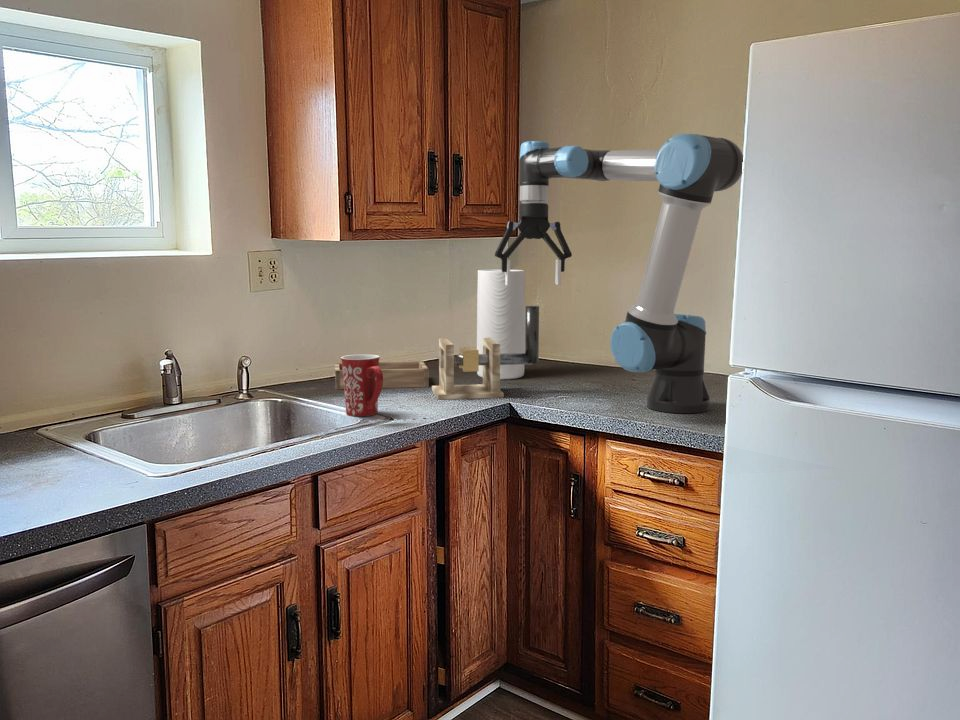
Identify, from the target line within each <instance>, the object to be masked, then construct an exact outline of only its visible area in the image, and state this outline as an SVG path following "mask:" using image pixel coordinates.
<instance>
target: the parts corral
mask: <svg viewBox="0 0 960 720" xmlns="http://www.w3.org/2000/svg"><path fill="white" fill-rule="evenodd" d="M379 368H380V369H381V370H382V373H383V386H382V389H394V388H397V389H398V388H399V389H400V388H427V387H430V386H429V382H430V381H429V378H430V377H429V367H428V366H427V365H426V363H425V362H424V361H423V360H421V361H419V360H418V361H417V360H415V361H379ZM334 378H335V380H334V381H335V390H344V380H343V370H342V364H341V362H335V363H334Z"/></svg>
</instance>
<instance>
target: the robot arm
mask: <svg viewBox="0 0 960 720" xmlns="http://www.w3.org/2000/svg"><path fill="white" fill-rule="evenodd" d="M743 157H744V154H743V152H742V150H741V148H740V147H739V146H738V144H736V143H734V141H732V140H730V139H728V138H723V137H716V136H709V135H703V134H699V133H680V134H679V133H678V134H676V135H674V136H672V137H671V138H669V139H668V140H666V141H665V142H664V143H663V144H662V145H661V147H660V148H659V149H619V150H615V149H614V150H610V149H609V150H608V149H607V150H606V149H605V150H597V149H596V150H595V149H587V148H583V147H582V146H580V145H569V144H568V145H564V146H559V147H558V146H557V147H550V144H549V142H547V141H544V140H543V141H542V140H532V141H530V140H529V141H524V142H522V143H521V145H520V151H519V159H518V160H519V202H521V203H520V204H519V208H518V209H519V217H518V218H519V220H518V222H516V221H515V222H514V221H512V220H511V221H508V222H506V230H505V232H504V234H503V236H502V239H501V241H500V242H499V244H498V246H497V248H496V250H495V253H494V257H496V258H499V259H500V260H501V270H502V272H505V285H510V270H511V259H508V258H509V257H510V256H511V255H512V254H513V252H514V251H515V250H516V249H517V248H518V247H519V245H520V244H521V243H522V242H523V240H525V239H527V240H533V239H534V240H540V239H543V240H544V242H545V243H546V244H547V246H548V247H549V248H550V249H551V251H552V252H553V253H554V254H555V256H556V257H557V258H558V259H555V278H554V279H555V285H557V286H559V285H560V286H561V284H562V283H561V280H562V272H563V273H564V272H565V268H566V265H565V264H566V259H569V258H571V257H572V256H573V255H572V251H571V249H570V247H569V244H568V243H567V240H566V239H565V236H564V234H563V232H562V229H561V222H560V221H554V222H550V221H549V204H548V201H549V194H550V193H549V185H550V183H549V182H550V181H549V180H550V179H574V180H575V179H576V180H590V181H597V182H598V181H599V182H607V181H626V182H629V181H630V182H631V181H634V182H635V181H636V182H659V187H658V190H657V193H658V194H659V196H660V198H661V200H662V203H661V207H660V212H659V215H658V219H657V223H656V227H655V231H654V234H653V238H652V243H651V246H650V251H649V255H648V257H647V261H646V266H645V270H644V273H643V277H642V281H641V285H640V289H639V292H638V293H639V294H638V296H637V301H636V303H635V304H633V305H632V306H629V307H628V309H627V312H626V316H625V319H624V322H621V323H620V324H619V325H617V326H615V327H614V329H613V330H612V332H611V336H610V345H609V346H610V350H611V354H612V356H614V360H615V362H616V363H617V364H618V366H620V367H621V368H622V369H624V370H625V371H628V372H630V373H646V372H651V371H654V378H653V380H652V383H651V386H650V388H649V391H648V394H647V396H646V408H648V409H649V410H654V411H656V412H662V413H672V414H697V413H698V414H700V413H705V412H708V411H709V410H710V409H711V400H710V395H709V392H708V389H707V385H706V382H705V378H704V377H705V376H704V375H705V354H706V351H705V350H706V335H707V331H706V320H705V319H704V317H702V316H699V315H691V314H682V313H681V314H680V313H675V308H676V305H677V301H678V298H679V293H680V290H681V288H682V287H681V286H682V283H683V280H684V276H685V271H686V267H687V265H688V262H689V258H690V254H691V250H692V246H693V243H694V240H695V235H696V233H697V228H698V225H699V221H700V217H701V213H702V211H703V210H704V209H705V208H706V207H708V206H710V205H711V204H712V200H713V197H714V194H715V192H723V191H725V190H728V189H729V188H732V187H733V186H734V185H736V183H737V182H738V181H739V180H740V179H741V177H742V174H743V172H742V162H743ZM516 228H518V230H519V231H520V233H519V234H518V235H517V237H515V239H514V241H513V242H512V243H511V244H510V245H509V246H508V248H507V249H506V250H505V247H507V244H508V242H509V239H510V238H511V236H512V234H513V231H515V230H516ZM550 228H551V231H554V235H555V237H556V238H557V241H558V244H559V245H560V247H558V245H557V244H556V243H555V242H554V240H553V239H552V238H551V236H550V234H549V233H548V232H547V231H548V230H549V229H550ZM560 248H561V249H562V250H561V249H560ZM504 250H505V251H504ZM562 251H563V252H562ZM503 252H504V253H503Z"/></svg>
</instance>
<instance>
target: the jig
mask: <svg viewBox="0 0 960 720" xmlns="http://www.w3.org/2000/svg"><path fill="white" fill-rule="evenodd" d="M454 348H455V345H454V343H452V342H451V341H450V340H448V338H438V381H439V382H438V385H431V391H432V392H433V395H435V397H436V399H437V400H467V399H470V400H473V399H501V398H502V399H503V398H504V397H505V396H504V395H505V394H504V392H503V391H502V390H501V380H500V343H498V342H496V341H495V340H493V339H491V338H483V354H489V365H483V378H482V384H478V383H477V384H455V379H454V378H455V366H454V355H455V349H454ZM442 355H444V366H442Z"/></svg>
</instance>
